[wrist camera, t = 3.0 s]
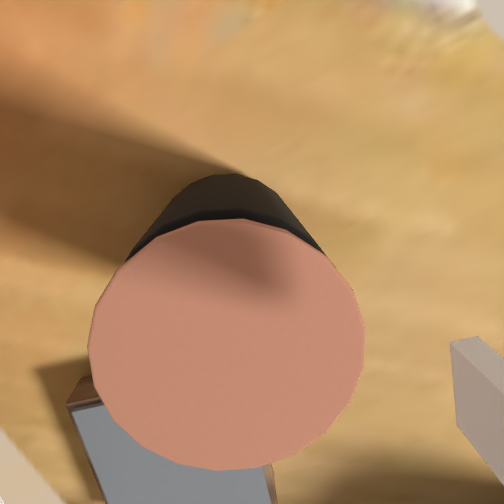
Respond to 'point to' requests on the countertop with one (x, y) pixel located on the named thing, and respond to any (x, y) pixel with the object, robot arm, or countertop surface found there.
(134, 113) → the countertop surface
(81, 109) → the countertop surface
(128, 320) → the coffee jar
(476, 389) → the robot arm
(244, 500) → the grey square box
